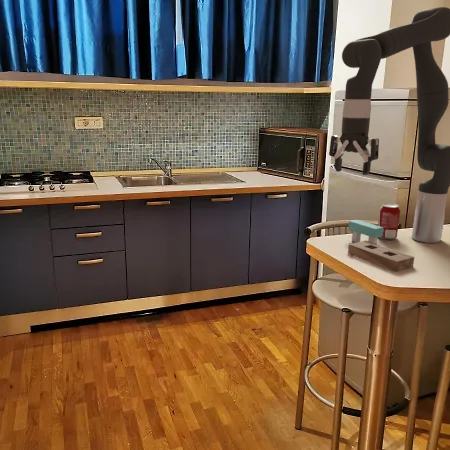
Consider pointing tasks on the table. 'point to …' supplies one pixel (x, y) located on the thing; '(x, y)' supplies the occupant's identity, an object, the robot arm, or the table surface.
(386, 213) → the soda can
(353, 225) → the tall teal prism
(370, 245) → the board
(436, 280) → the table surface
